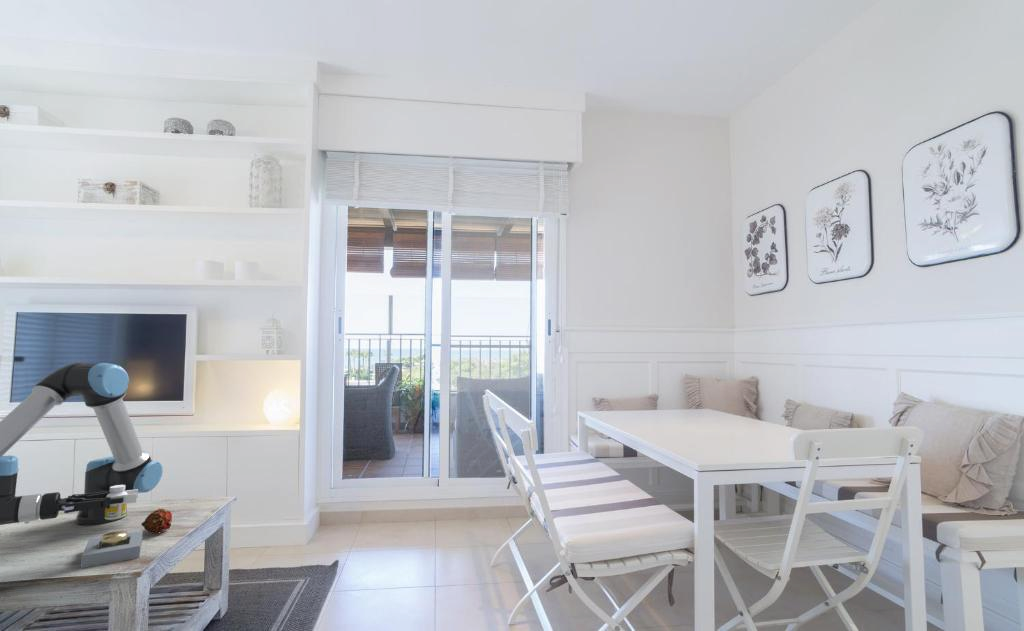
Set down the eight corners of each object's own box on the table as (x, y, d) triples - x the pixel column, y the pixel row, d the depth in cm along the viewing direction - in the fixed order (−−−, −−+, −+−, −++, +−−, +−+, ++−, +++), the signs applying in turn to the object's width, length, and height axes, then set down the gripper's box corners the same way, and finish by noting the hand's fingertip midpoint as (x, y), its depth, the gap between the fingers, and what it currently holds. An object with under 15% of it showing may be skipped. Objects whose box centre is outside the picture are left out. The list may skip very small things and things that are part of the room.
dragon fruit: (157, 541, 174) (151, 537, 182) (181, 522, 179) (174, 519, 188) (141, 524, 171) (135, 521, 180) (165, 505, 177) (159, 502, 185)
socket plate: (88, 550, 162) (89, 539, 162) (141, 541, 169) (142, 530, 170) (80, 567, 148) (81, 555, 149) (139, 557, 156) (140, 546, 156)
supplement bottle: (121, 513, 163) (123, 483, 164) (129, 516, 161) (131, 485, 161) (101, 518, 159) (103, 486, 160) (108, 521, 156) (111, 489, 157)
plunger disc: (102, 541, 160) (103, 533, 160) (127, 537, 164) (128, 529, 164) (100, 547, 155) (100, 539, 155) (125, 543, 158) (126, 535, 159)
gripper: (46, 511, 157) (138, 500, 170) (32, 528, 142) (134, 514, 155) (48, 487, 158) (139, 478, 171) (35, 501, 143) (136, 490, 156)
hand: (137, 495), depth 163 cm, fingers closed on supplement bottle, 5 cm apart
